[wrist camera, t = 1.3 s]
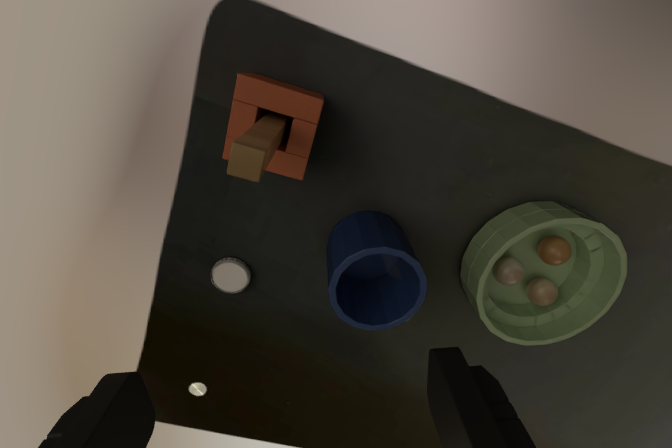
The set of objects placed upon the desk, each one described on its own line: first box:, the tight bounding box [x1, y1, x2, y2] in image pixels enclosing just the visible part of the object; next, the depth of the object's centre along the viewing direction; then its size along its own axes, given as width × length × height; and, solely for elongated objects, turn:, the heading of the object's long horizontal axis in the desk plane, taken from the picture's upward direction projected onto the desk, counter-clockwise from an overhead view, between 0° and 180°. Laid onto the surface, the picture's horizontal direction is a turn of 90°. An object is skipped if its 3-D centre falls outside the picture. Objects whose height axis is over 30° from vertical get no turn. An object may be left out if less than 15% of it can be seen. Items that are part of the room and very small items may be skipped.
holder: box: [223, 73, 324, 180], centre depth 29 cm, size 6×6×6 cm
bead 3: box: [526, 277, 558, 306], centre depth 38 cm, size 3×3×3 cm
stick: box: [227, 111, 290, 182], centre depth 24 cm, size 2×2×16 cm
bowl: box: [460, 201, 627, 345], centre depth 36 cm, size 14×14×5 cm
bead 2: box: [537, 235, 572, 265], centre depth 36 cm, size 3×3×3 cm
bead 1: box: [492, 256, 525, 286], centre depth 36 cm, size 3×3×3 cm
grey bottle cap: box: [211, 258, 251, 293], centre depth 37 cm, size 4×4×1 cm
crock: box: [327, 211, 427, 331], centre depth 33 cm, size 8×8×8 cm
